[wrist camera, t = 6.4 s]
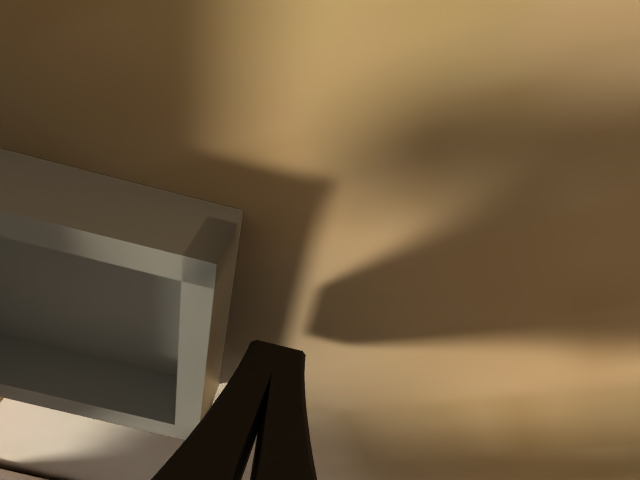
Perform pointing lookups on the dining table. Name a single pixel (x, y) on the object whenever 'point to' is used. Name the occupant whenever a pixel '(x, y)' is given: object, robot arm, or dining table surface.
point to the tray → (112, 295)
